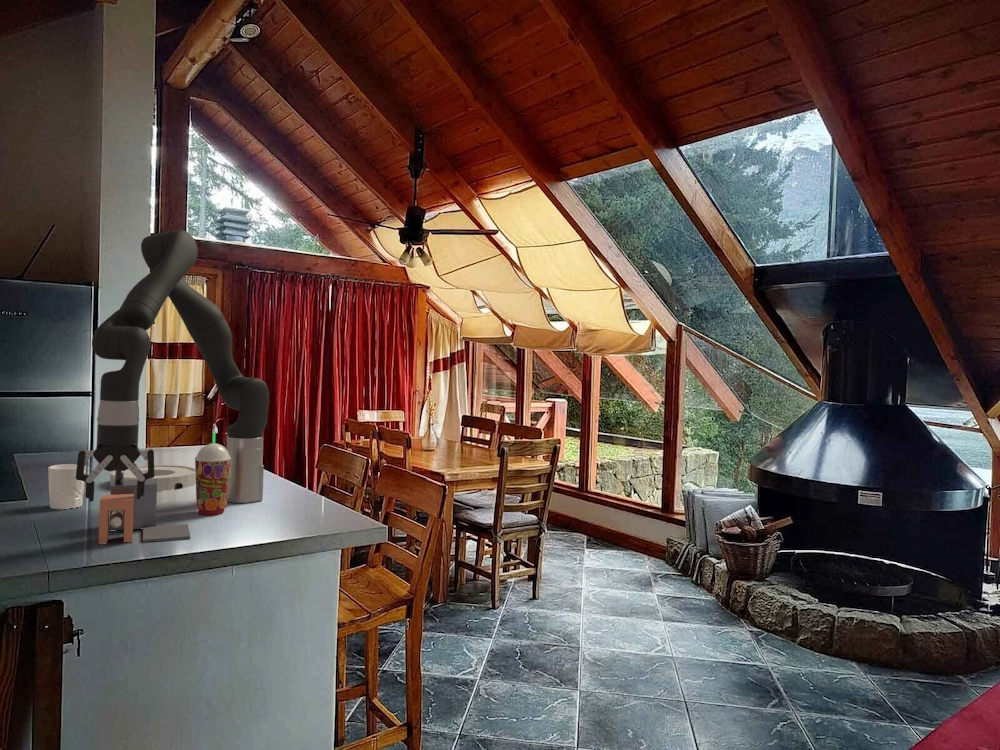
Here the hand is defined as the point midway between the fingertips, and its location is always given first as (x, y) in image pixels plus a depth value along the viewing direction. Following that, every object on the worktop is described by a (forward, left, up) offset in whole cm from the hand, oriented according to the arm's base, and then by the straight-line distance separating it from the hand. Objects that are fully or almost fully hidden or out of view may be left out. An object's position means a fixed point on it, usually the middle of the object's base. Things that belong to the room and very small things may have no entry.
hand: (115, 499), depth 143 cm
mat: (-10, -2, -9) cm, 13 cm away
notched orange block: (0, 0, -9) cm, 9 cm away
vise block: (-3, -5, -8) cm, 10 cm away
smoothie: (-20, -20, -9) cm, 30 cm away
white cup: (+12, -36, -9) cm, 39 cm away
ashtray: (-8, -62, -9) cm, 63 cm away
